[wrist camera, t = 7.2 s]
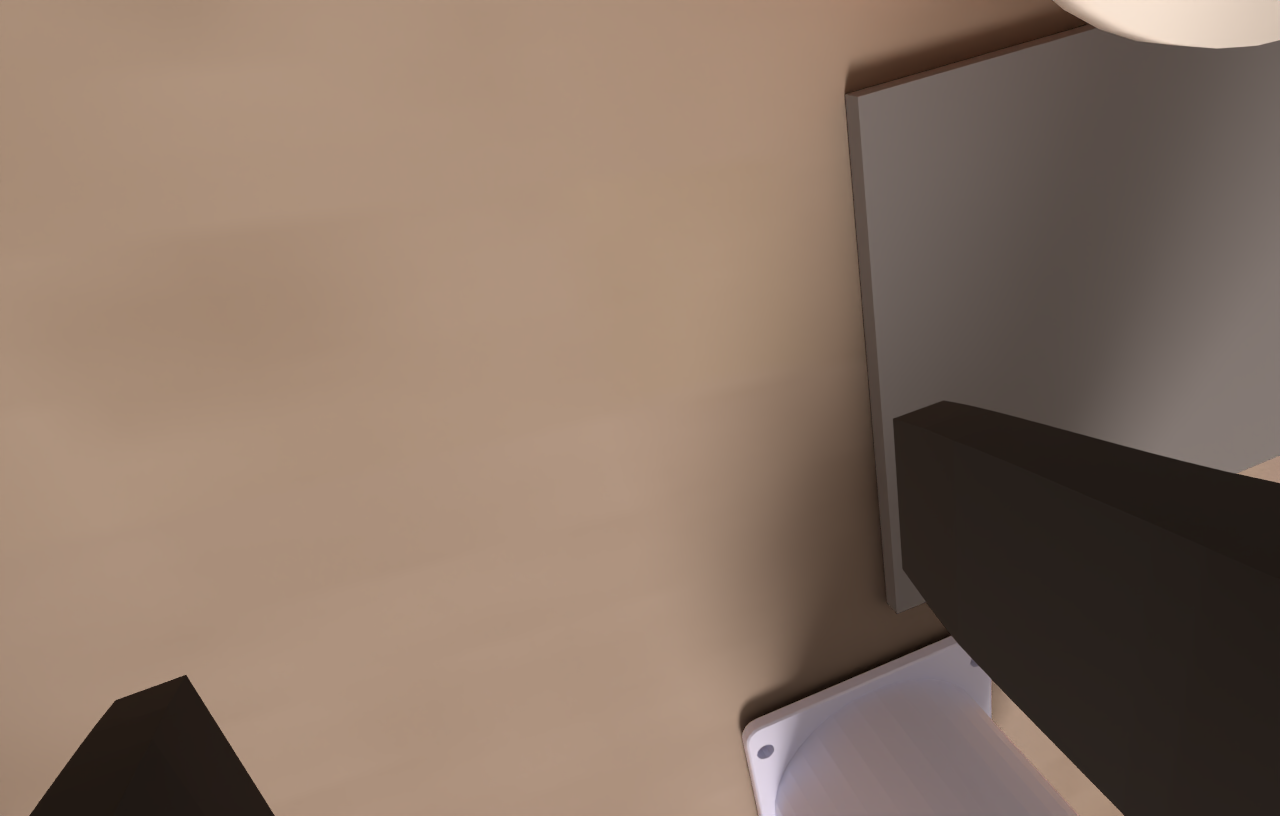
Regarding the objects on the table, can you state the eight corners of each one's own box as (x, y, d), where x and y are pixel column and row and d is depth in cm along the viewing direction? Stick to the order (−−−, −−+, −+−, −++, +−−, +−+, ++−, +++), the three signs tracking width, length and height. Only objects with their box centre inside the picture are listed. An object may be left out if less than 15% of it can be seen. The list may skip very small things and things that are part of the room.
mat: (1282, 441, 27) (1297, 448, 27) (886, 602, 25) (897, 614, 24) (1375, -59, 20) (1398, -59, 20) (845, 94, 18) (857, 97, 17)
